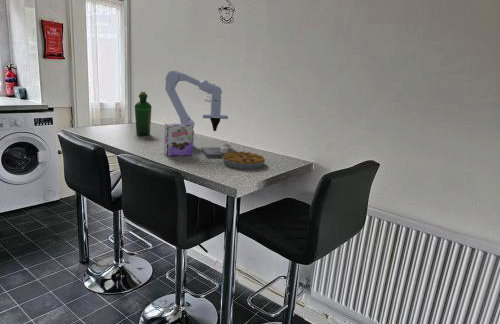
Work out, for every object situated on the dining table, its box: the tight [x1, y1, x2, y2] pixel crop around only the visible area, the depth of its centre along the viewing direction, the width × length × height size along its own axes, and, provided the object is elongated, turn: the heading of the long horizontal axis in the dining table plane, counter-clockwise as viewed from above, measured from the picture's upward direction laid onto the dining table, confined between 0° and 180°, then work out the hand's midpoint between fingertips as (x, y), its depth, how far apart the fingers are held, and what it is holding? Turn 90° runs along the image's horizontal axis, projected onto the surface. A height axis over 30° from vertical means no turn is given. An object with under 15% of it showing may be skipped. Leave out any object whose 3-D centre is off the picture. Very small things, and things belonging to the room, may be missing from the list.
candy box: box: [163, 122, 194, 157], centre depth 179 cm, size 14×6×16 cm, turn 117°
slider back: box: [223, 142, 232, 149], centre depth 194 cm, size 3×4×3 cm
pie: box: [221, 151, 266, 170], centre depth 173 cm, size 22×22×5 cm
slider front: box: [220, 145, 228, 153], centre depth 185 cm, size 3×4×3 cm
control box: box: [200, 146, 238, 159], centre depth 189 cm, size 18×16×2 cm
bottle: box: [134, 91, 152, 137], centre depth 222 cm, size 11×11×28 cm
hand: (214, 130), depth 201 cm, fingers closed
